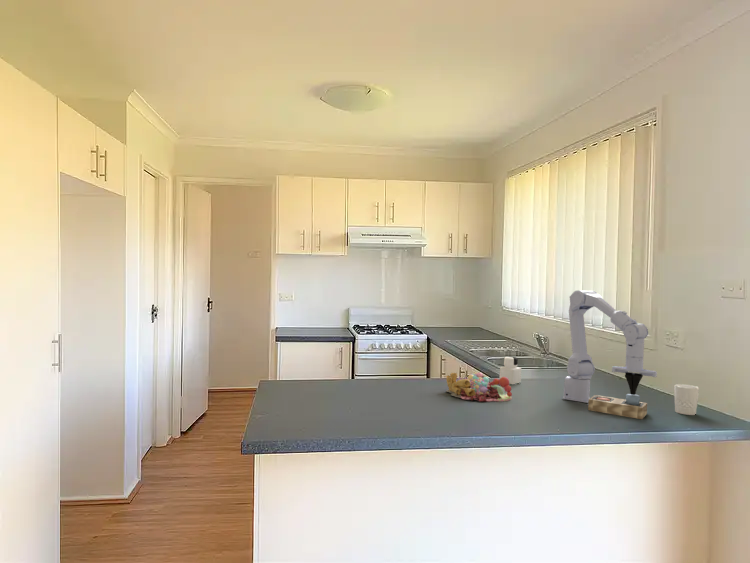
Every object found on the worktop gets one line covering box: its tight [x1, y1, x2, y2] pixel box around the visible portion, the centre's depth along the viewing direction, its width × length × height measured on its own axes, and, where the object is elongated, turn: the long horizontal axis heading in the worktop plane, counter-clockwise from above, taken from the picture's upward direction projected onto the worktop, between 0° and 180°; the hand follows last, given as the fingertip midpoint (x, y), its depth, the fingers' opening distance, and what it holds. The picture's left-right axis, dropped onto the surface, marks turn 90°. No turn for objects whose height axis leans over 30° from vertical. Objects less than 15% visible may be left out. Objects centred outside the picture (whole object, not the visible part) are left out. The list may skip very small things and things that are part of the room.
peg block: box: [587, 394, 648, 420], centre depth 191 cm, size 18×10×4 cm, turn 54°
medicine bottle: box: [498, 355, 522, 385], centre depth 238 cm, size 7×7×12 cm
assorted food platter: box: [445, 371, 513, 402], centre depth 210 cm, size 25×24×9 cm
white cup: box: [673, 383, 700, 416], centre depth 194 cm, size 8×8×10 cm
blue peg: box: [625, 393, 641, 406], centre depth 188 cm, size 4×4×4 cm
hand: (633, 394), depth 188 cm, fingers closed
